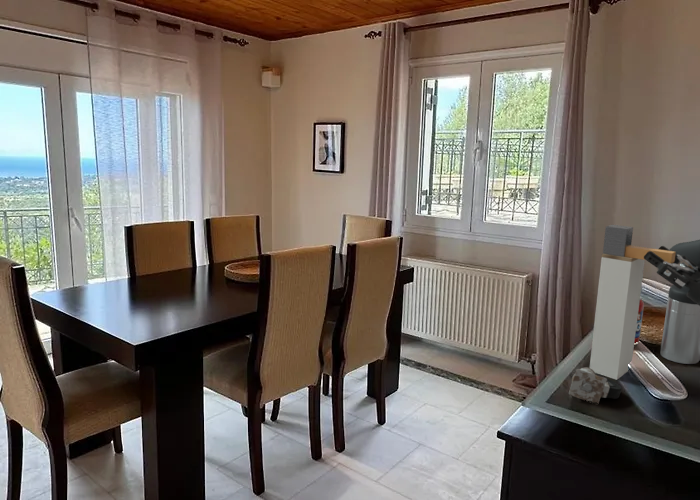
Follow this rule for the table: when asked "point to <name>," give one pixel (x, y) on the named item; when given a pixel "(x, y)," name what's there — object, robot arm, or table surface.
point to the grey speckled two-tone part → (593, 386)
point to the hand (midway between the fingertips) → (652, 251)
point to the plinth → (616, 314)
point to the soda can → (639, 320)
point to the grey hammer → (629, 245)
